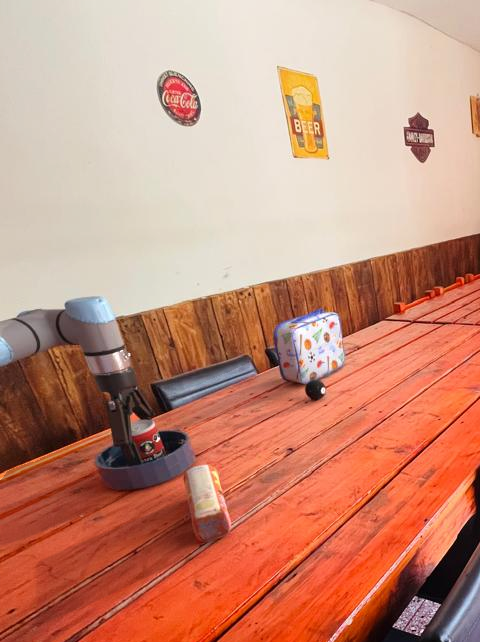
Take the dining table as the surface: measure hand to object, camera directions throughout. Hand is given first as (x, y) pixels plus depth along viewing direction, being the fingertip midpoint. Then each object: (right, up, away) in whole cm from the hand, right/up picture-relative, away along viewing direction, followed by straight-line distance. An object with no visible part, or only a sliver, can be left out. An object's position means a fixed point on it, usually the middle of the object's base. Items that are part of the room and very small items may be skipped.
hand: (146, 455), depth 120 cm
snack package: (+24, -11, -16) cm, 31 cm away
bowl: (0, -4, +2) cm, 4 cm away
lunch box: (+22, +25, +59) cm, 68 cm away
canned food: (0, -3, +2) cm, 4 cm away
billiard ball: (+28, +16, +38) cm, 50 cm away
